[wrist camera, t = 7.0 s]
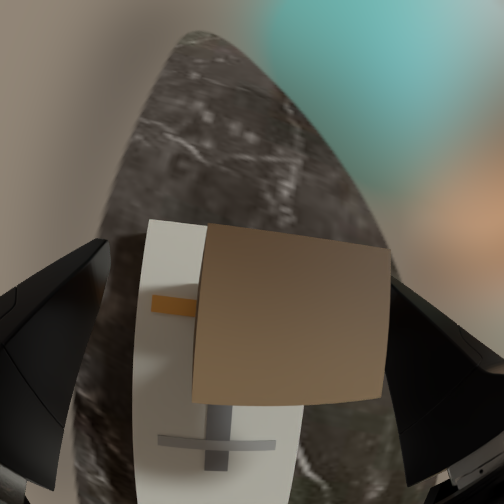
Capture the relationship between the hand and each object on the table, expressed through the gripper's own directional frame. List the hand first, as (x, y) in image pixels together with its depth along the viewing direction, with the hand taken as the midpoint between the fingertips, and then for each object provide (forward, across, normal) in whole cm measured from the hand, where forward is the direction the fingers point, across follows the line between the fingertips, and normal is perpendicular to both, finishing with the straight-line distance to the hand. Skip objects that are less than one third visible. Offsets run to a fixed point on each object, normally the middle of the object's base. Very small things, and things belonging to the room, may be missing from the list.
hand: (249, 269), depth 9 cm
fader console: (+1, 0, +10) cm, 10 cm away
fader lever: (+2, 0, +4) cm, 5 cm away
